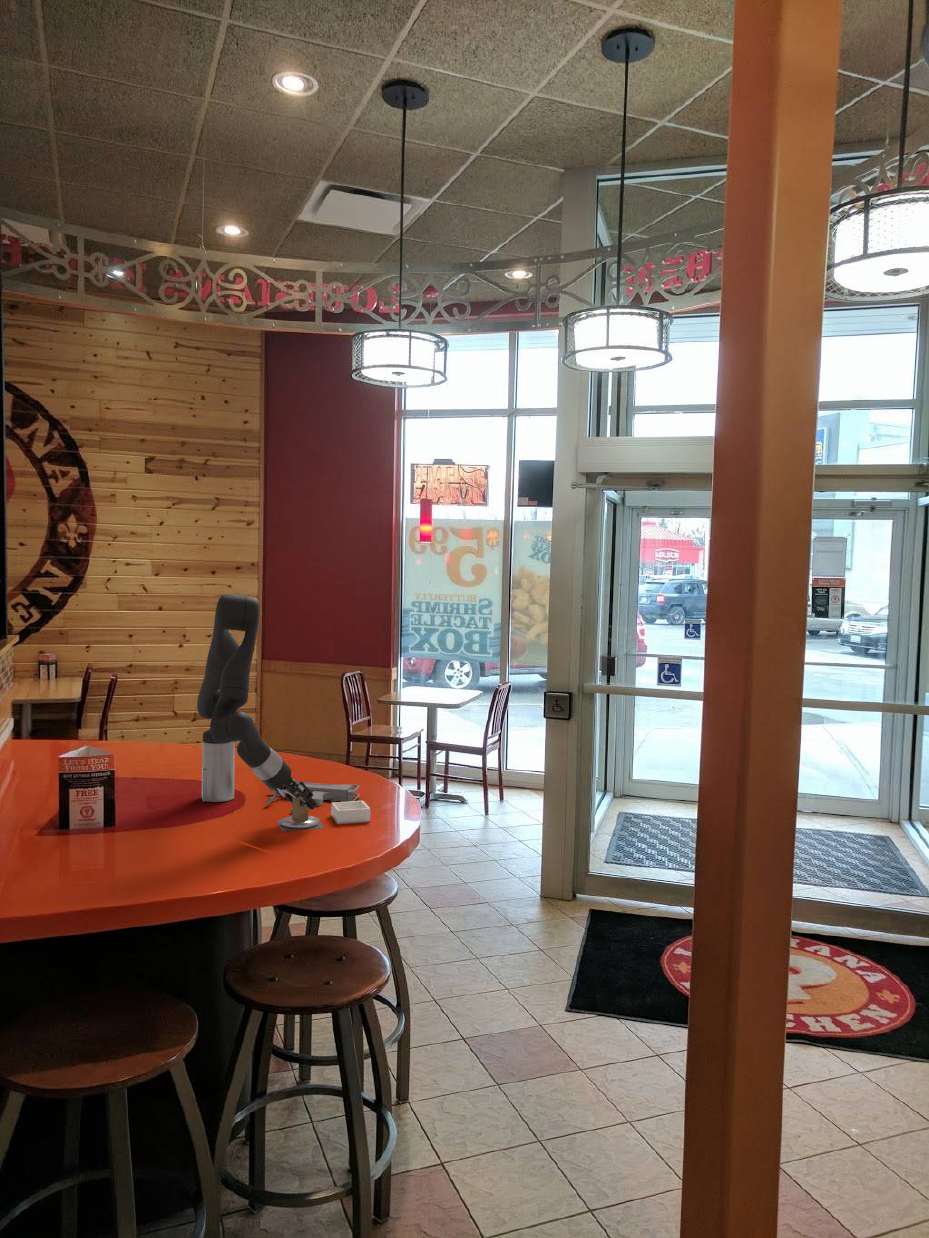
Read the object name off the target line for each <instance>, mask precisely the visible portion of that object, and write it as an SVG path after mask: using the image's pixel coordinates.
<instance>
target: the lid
mask: <svg viewBox="0 0 929 1238" xmlns="http://www.w3.org/2000/svg"><path fill="white" fill-rule="evenodd" d="M294 794H295V795H296V794H297V792H295V793H294ZM291 804H292V806H291V807H292V814H291V816H286V817H284V818H282V819H280V820H281V826H282V827H285V828H289V829H307V830H309V829H308V828H313V827H316V826H318V825H319V821H320V818H319V817H317V816H312V815H309V809H308V807H307V805H306V804H305V803H304V802H302V801H301V800H300V799H298V798H296V799H295V798H294V797H293V800H292V803H291Z"/></svg>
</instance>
